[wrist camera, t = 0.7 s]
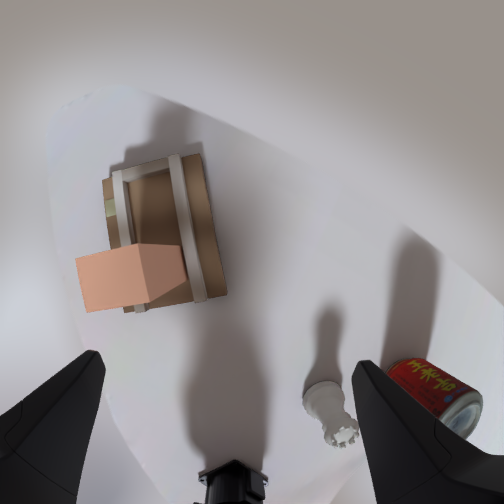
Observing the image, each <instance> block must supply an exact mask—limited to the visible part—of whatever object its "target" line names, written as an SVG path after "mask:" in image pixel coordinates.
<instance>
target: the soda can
mask: <svg viewBox="0 0 504 504" xmlns="http://www.w3.org/2000/svg"><path fill="white" fill-rule="evenodd" d="M386 374H387V375H388V376H389V377H390V378H392V379H393V380H394V381H395V382H396V383H397V384H398V385H400V386H401V387H402V388H403V389H404V390H405V391H407V392H408V393H409V394H410V395H411V396H412V397H413V398H415V399H416V400H417V401H418V402H419V403H420V404H422V405H423V406H424V407H425V408H426V409H427V410H428V411H430V412H431V413H432V414H433V415H434V416H435V417H437V418H438V419H439V420H440V421H441V422H442V423H444V424H445V425H446V426H447V427H449V428H450V429H451V430H452V431H454V432H455V433H456V434H458V435H459V436H461V437H462V438H464V439H465V440H466V439H467V438H468V437H469V436H470V435H471V434H472V432H473V431H474V429H475V428H476V426H477V423H478V421H479V419H480V416H481V412H482V408H483V399H482V395H481V394H480V393H479V392H478V391H477V390H475V389H474V388H472V387H470V386H468V385H467V384H465V383H463V382H461V381H460V380H458V379H456V378H455V377H453V376H451V375H450V374H448V373H446V372H445V371H443V370H441V369H440V368H438V367H436V366H434V365H433V364H431V363H429V362H428V361H426V360H424V359H421V358H412V359H403V360H400V361H397V362H396V363H395V364H393V365H392V366H391V367H390V368H389V369H388V370H387V372H386Z"/></svg>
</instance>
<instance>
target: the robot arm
mask: <svg viewBox="0 0 504 504" xmlns="http://www.w3.org/2000/svg"><path fill="white" fill-rule="evenodd" d="M105 372H106V368H105V365H104V363H103V360H102V358H101V355H100V353H99V352H98V351H94V350H87V351H85V352H84V353H83V354H82V355H80V356H79V357H77V358H76V359H75V360H74V361H72V362H71V363H69V364H68V365H67V366H66V367H64V368H63V369H62V370H60V371H59V372H58V373H56V374H55V375H54V376H52V377H51V378H50V379H49V380H47V381H46V382H45V383H43V384H42V385H41V386H39V387H38V388H37V389H36V390H34V391H33V392H32V393H30V394H29V395H28V396H26V397H25V398H24V399H23V401H22V400H21V401H20V402H19V403H17V404H16V405H15V406H14V407H12V408H11V409H9V410H8V411H7V412H5V413H4V414H2V415H1V416H0V504H76V500H77V494H78V488H79V484H80V479H81V473H82V469H83V465H84V460H85V456H86V452H87V448H88V444H89V440H90V436H91V433H92V429H93V425H94V422H95V418H96V415H97V411H98V408H99V403H100V398H101V392H102V387H103V382H104V377H105ZM352 387H353V394H354V401H355V408H356V414H357V420H358V424H359V428H360V432H361V435H362V439H363V443H364V448H365V452H366V456H367V460H368V464H369V469H370V473H371V478H372V482H373V487H374V492H375V497H376V501H377V504H504V455H491V454H488V453H485V452H483V451H482V450H480V449H478V448H477V447H475V446H474V445H472V444H471V443H469V442H468V441H467V440H465V439H464V438H462V437H461V436H459V435H458V434H456V433H455V432H454V431H452V430H451V429H450V428H449V427H447V426H446V425H445V424H444V423H442V422H441V421H440V420H439V419H438V418H437V417H435V416H434V415H433V414H432V413H431V412H430V411H428V410H427V409H426V408H425V407H424V406H423V405H422V404H420V403H419V402H418V401H417V400H416V399H415V398H413V397H412V396H411V395H410V394H409V393H408V392H407V391H405V390H404V389H403V388H402V387H401V386H400V385H398V384H397V383H396V382H395V381H394V380H393V379H392V378H390V377H389V376H388V375H387V374H386V373H385V372H383V371H382V370H381V369H380V368H379V367H378V366H377V365H375V364H374V363H373V362H372V361H370V360H361V361H359V362H358V363H357V365H356V368H355V370H354V372H353V375H352ZM235 463H236V464H235ZM202 479H203V480H202ZM198 480H199V482H201V483H202V484H204V485H205V486H207V490H206V498H205V504H263V500H265V490H264V487H266V486H267V485H268V481H267V480H265V479H264V478H263V477H262V476H260V475H259V474H257V473H256V472H255V471H253V470H252V469H250V468H248V467H246V466H245V465H244V464H242V463H241V462H239V461H238V460H233V461H231V462H229V463H227V464H225V465H223V466H221V467H219V468H217V469H215V470H213V471H211V472H209V473H206V474H204V475H202V476H200V477H199V479H198ZM193 504H200V503H196V502H194V503H193Z"/></svg>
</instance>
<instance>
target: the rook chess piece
mask: <svg viewBox="0 0 504 504" xmlns="http://www.w3.org/2000/svg"><path fill="white" fill-rule="evenodd" d="M344 401H345V396H344V393H343V391H342V390H341V387H340V386H339V385H338V384H337V383H335V382H331V381H323V382H319V383H317V384H315V385H313V386H312V387H311V388H309V389H308V390H307V392H306V393H305V395H304V397H303V406H304V408H305V410H306V411H307V414H309V415H310V416H311V417H313V418H314V419H317V420H319V421H320V422H321V423H322V424H323V426H322V429H323V431H324V432H325V435H324V439H325V441H326V443H328V444H329V445H332V446H333V447H335V448H337V447H338V446H339V447H340V449H342V448H346V445H345V444H347V443H349V444H350V445H352V444H353V443H355V441H354V438H358V436H359V433H358V430H359V424H358V422H357V421H356V420H355V419H352V418H351V416H350V415H349V414H348V413H347V412H345V410H344V408H343V407H344Z"/></svg>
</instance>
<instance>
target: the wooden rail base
mask: <svg viewBox="0 0 504 504" xmlns="http://www.w3.org/2000/svg"><path fill="white" fill-rule="evenodd" d="M102 184H103V195H104V204H105V213H106V221H107V228H108V235H109V241H110V247H111V250H112V249H116V248H120V247H124V246H129V245H133V244H137V243H140V244H158V245H176V246H182V250H183V255H184V260H185V265H186V269H187V274H188V280H187V281H185V282H183V283H182V284H180V285H178V286H177V287H175V288H173V289H172V290H170V291H168V292H166V293H165V294H163V295H161V296H160V297H158V298H156V299H155V300H153V301H151V302H149V303H143V304H137V305H131V306H125V307H123V309H124V313H128V312H134V311H135V313H141V312H146V311H147V310H149V309H152V308H158V307H164V306H170V305H176V304H181V303H187V302H192V301H194V302H195V303H199V302H204V301H207V299H208V298H214V297H219V296H224V295H227V288H226V284H225V279H224V274H223V269H222V264H221V260H220V255H219V250H218V245H217V240H216V235H215V230H214V224H213V219H212V214H211V209H210V203H209V198H208V192H207V187H206V181H205V176H204V170H203V164H202V159H201V156H200V154H195V155H190V156H186V157H182V158H181V156H180V155H179V153H178V154H174V155H170V156H168V157H167V158H163V159H159V160H155V161H152V162H148V163H144V164H141V165H137V166H134V167H131V168H127V169H124V170H118V171H114V172H112V177H110V178H107V179H104V180H102Z"/></svg>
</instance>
